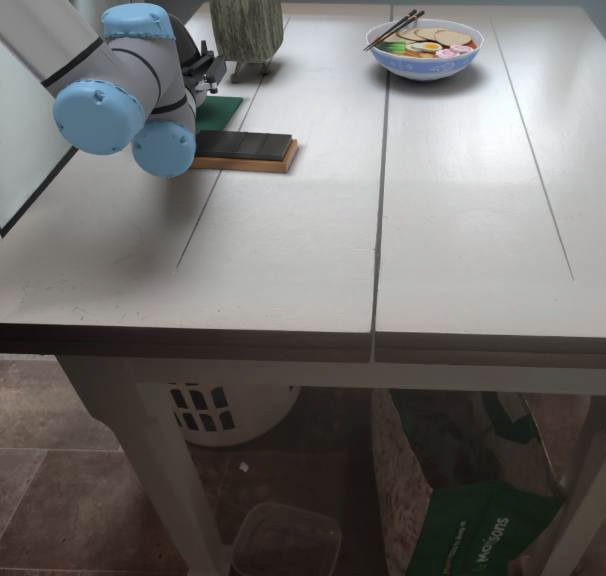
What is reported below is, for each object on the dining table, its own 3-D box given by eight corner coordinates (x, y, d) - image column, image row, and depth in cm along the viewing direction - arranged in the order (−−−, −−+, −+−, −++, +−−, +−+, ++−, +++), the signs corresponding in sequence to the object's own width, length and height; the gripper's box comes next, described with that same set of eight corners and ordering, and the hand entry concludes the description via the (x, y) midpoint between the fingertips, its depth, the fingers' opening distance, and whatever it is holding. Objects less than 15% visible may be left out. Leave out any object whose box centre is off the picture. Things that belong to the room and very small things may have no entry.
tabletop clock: (246, 58, 128) (227, -79, 111) (288, 61, 127) (275, -77, 110) (222, 86, 117) (197, -62, 101) (268, 89, 116) (250, -60, 100)
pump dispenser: (153, 96, 108) (130, 6, 98) (213, 92, 110) (196, 2, 100) (148, 121, 101) (122, 26, 91) (212, 116, 102) (194, 21, 92)
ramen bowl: (452, 110, 109) (455, 64, 104) (341, 86, 117) (339, 42, 111) (498, 64, 126) (503, 23, 121) (398, 46, 134) (399, 7, 128)
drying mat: (121, 135, 101) (120, 132, 101) (159, 96, 113) (158, 93, 113) (215, 140, 100) (214, 137, 99) (243, 100, 112) (242, 97, 111)
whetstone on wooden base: (183, 167, 93) (179, 150, 91) (201, 142, 99) (198, 126, 97) (286, 173, 92) (284, 156, 90) (298, 148, 98) (296, 132, 96)
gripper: (94, 137, 87) (111, 78, 104) (251, 122, 91) (243, 67, 108) (77, 86, 82) (98, 32, 99) (243, 72, 86) (236, 23, 103)
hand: (174, 50), depth 103 cm, fingers closed on pump dispenser, 9 cm apart
